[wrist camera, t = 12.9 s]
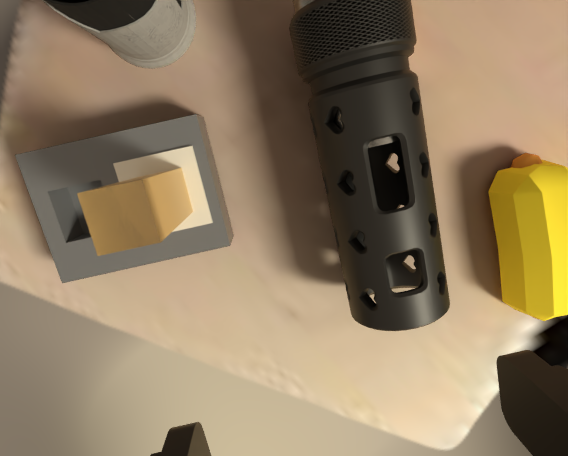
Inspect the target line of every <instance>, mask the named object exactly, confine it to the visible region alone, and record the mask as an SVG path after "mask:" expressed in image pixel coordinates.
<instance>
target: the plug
mask: <svg viewBox="0 0 568 456" xmlns="http://www.w3.org/2000/svg"><path fill="white" fill-rule="evenodd" d="M77 195H78V198H79V201H80V204H81V207H82V210H83V213H84V216H85V219H86V222H87V225H88V228H89V231H90V234H91V237H92V240H93V243H94V246H95V249H96V252H97V255H98V256H101V255H105V254H110V253H115V252H119V251H124V250H128V249H133V248H138V247H142V246H147V245H152V244H156V243H161V242H162V241H163V240H164V239H165V238H166V237H167V236H168V235H169V234H170V233H171V232H172V231H173V230H174V229H175V228H177V227H178V226H179V225H180V224H181V223H182V222H183V221H184V220H185V219H186V218H187V217H188V216H189V215H190V214H191V213H192V212H193V209H192V205H191V202H190V198H189V194H188V190H187V187H186V183H185V179H184V175H183V172H182V168H178V169H173V170H168V171H164V172H159V173H154V174H150V175H145V176H141V177H136V178H132V179H129V180H125V181H121V182H118V183H114V184H110V185H106V186H103V187H99V188H95V189H92V190H88V191H84V192H81V193H77Z"/></svg>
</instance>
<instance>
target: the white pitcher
mask: <svg viewBox="0 0 568 456" xmlns="http://www.w3.org/2000/svg"><path fill="white" fill-rule="evenodd" d="M43 1H44V2H45V3H46V4H47V5H48V6H50V7H51V8H52V9H53V10H54V11H56V12H57V13H59V14H61V15H62V16H64V17H65V18H67V19H68V20H70V21H72V22H73V23H75V24H77V25H78V26H80V27H81V28H83V29H85V30H86V31H88V32H89V33H91V34H93V35H94V36H96V37H98V38H99V39H101V40H102V41H104V42H106V43H107V44H108V45H109V46H110V47H111V48H112V50H113V51H114V52H115V53H116V54H117V55H118V56H120V57H121V58H122V59H124V60H125V61H127V62H128V63H130V64H133V65H135V66H138V67H142V68H161V67H164V66H167V65H170V64H171V63H173V62H175V61H177V60H178V59H179V58H180V57H181V56H183V54H184V53H185V52H186V51H187V49H188V48H189V46H190V44H191V42H192V40H193V37H194V34H195V28H196V12H195V6H194V3H193V0H43Z"/></svg>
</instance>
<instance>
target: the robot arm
mask: <svg viewBox="0 0 568 456" xmlns="http://www.w3.org/2000/svg"><path fill="white" fill-rule="evenodd" d="M497 372H498V381H499V390H500V400H501V408H502V412H503V415H504V417H505V420H506V422H507V424H508V425H509V427H510V429H511V430H512V432H513V433H514V434H515V435H516V436H517V438H518V439H519V440H520V441H521V442H522V444H523V445H524V446H525V447H526V448H527V449H528V451H529V452H530V453H531V454H532V455H533V456H568V369H566V368H564V367H561V366H559V365H556V366H550V365H549V364H547V363H546V362H545V361H544V360H542V359H541V358H540V357H539V356H537V355H536V354H535V353H533V352H532V351H530V350H524V351H520V352H515V353H511V354H506V355H502V356H499V357H498V358H497ZM150 456H211V453H210V450H209V447H208V444H207V441H206V437H205V434H204V431H203V428H202V425H201V424H200V423H199V422H196V423H192V424H187V425H183V426H178V427H173V428H171V429H170V430H169V431H168V434H167V437H166V440H165V443H164V446H163V449H162V452H158V453H154V454H151V455H150Z"/></svg>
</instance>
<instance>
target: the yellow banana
mask: <svg viewBox="0 0 568 456" xmlns="http://www.w3.org/2000/svg"><path fill="white" fill-rule="evenodd" d="M488 193H489V198H490V204H491V210H492V216H493V222H494V227H495V233H496V239H497V245H498V252H499V265H500V277H501V289H502V301H503V302H504V303H506V304H507V305H509V306H510V307H512V308H513V309H515V310H518V311H520V312H522V313H525V314H527V315H530V316H532V317H534V318H537V319H540V320H542V321H545V320H548V319H551V318H553V317H558V316H563V315H568V168H567V167H565V166H562V165H559V164H555V163H552V162H548V161H545V160H541V159H540V157H539V156H538V155H533V154H528V153H524V154H522V155H521V156H519V157H517V158H515V159H513V162H512V165H511V168H508V169H504V170H499V171H497V174H496V176H495V178H494V180H493V183H492V185H491V187H490V189H489V191H488Z"/></svg>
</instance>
